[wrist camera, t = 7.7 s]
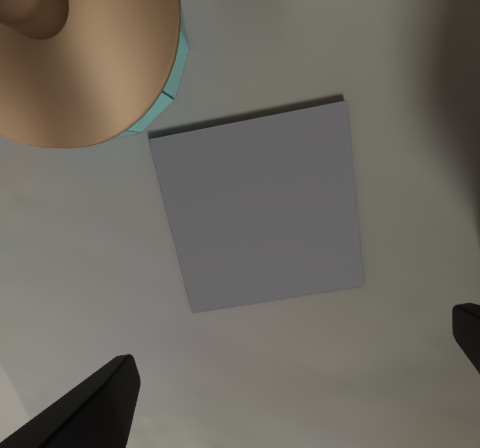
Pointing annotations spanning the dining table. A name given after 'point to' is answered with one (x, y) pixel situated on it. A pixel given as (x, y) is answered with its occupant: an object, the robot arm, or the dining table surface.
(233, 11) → the dining table surface
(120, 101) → the lid
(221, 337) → the dining table surface
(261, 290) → the mat
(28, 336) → the dining table surface
